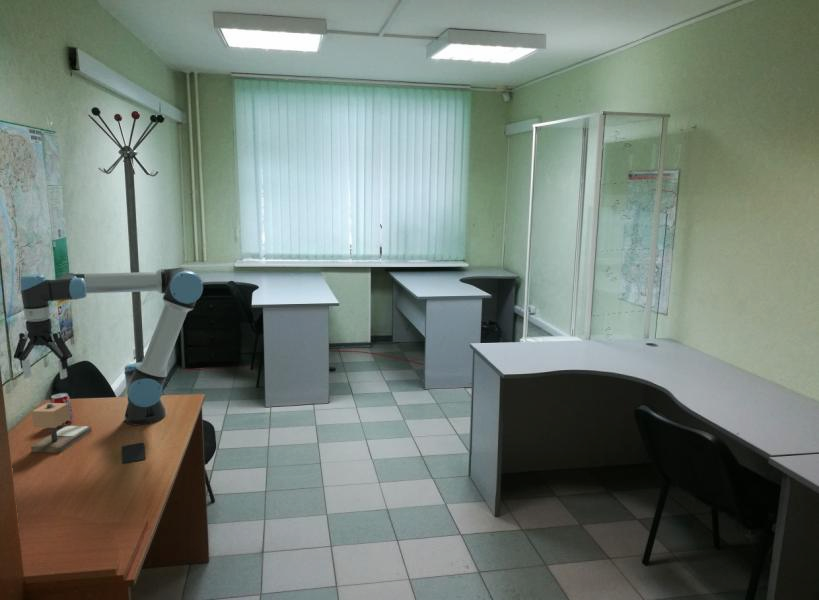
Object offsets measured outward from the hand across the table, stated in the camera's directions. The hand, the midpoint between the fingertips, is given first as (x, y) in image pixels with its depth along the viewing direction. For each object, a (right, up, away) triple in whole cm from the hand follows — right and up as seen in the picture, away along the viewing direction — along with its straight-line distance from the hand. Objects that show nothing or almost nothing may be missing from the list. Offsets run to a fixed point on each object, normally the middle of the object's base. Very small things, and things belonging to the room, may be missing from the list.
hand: (45, 377), depth 211 cm
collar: (0, -17, +3) cm, 17 cm away
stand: (+1, -25, +9) cm, 26 cm away
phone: (+32, -27, -2) cm, 42 cm away
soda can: (-9, -22, +26) cm, 35 cm away
